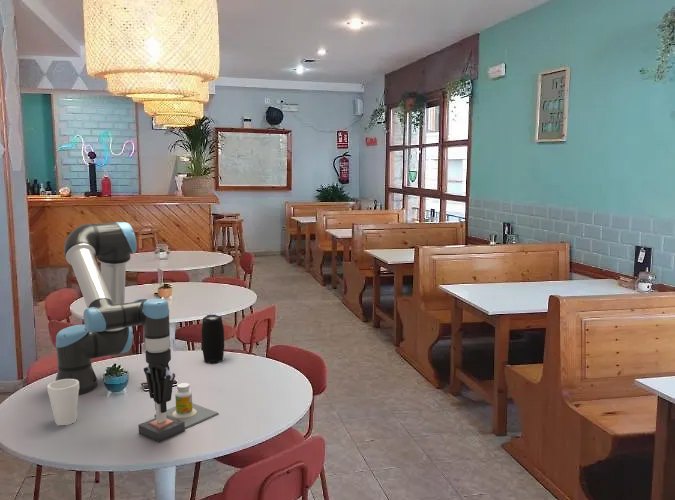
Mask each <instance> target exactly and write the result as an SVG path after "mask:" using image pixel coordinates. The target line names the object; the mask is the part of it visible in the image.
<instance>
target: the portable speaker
mask: <svg viewBox="0 0 675 500" xmlns="http://www.w3.org/2000/svg"><path fill="white" fill-rule="evenodd" d="M222 319H223V318H222V315H217V314H207V315H205V316H204V317H202V325H201V348H202V354H203V360H204V362H207V363H208V364H210V365H212V364H213V365H214V364H218V363H219V362H220V361H222V362H223V360H224V354H225V328H224V323H223V320H222Z"/></svg>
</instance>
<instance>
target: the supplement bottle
mask: <svg viewBox="0 0 675 500" xmlns="http://www.w3.org/2000/svg"><path fill="white" fill-rule="evenodd" d="M176 387H177V388H176V389H177V390H176V391H175V394H174V395H175V396H174V397H175V406H176V413H177V414H178V415H188V414H190V413H192V403H193V393H192V390H191V389H190V383H188V382H182V383H178V384H177V385H176Z"/></svg>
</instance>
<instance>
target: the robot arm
mask: <svg viewBox="0 0 675 500" xmlns="http://www.w3.org/2000/svg"><path fill="white" fill-rule="evenodd" d="M137 249H138V245H137V238H136V234H135V231H134V229H133V226H132V225H131V224H130V223H129V222H127V221H126V222H123V221H121V222H120V221H115V222H101V223H100V222H99V223H85V224H82V225H80V226H79V225H78V226H77V227H76V228H75V229H73V230H72V231H71V232H70V233H69V235H68V236H67V238H66V239H65V243H64V246H63V255H64V257H65V260H66V263H68V264H69V265H70V266H71V268H72V270H73V272H74V275H75V278H76V280H77V284H78V285H79V289H80V291H81V294H82V298H83V300H84V302H85V304H86V307H87V308H85V310H84V311H83V316H82V317H83V323H84V324H76V325H71V326H68V327H65V328H63V329H60V330H59V331H58V332H57V333H56V335H55V348H56V358H57V359H56V360H57V374H56V377H55V380H54V381H57V380H62V379H76V380H78V381H79V393H78V395H83V394H87V393H89V392H91V391H93V390H96V389H97V388H98V385H99V382H98V377H97V375H96V373H95V370H94V369H93V366H92V364H93V363H92V359H100V358H103V357H109V356H115V355H120V354H124V353H127V352H128V351H130V349H131V347H132V345H133V340H134V335H133V330H134V329H133V327H137V326H141V325H142V326H143V330H144V333H143V334H144V348H145V362H146V363H147V365H148V366H146V367H143V372H144V374H145V377H146V384H147V388H148V393H149V397H150V399H152V400H153V401H154V407H155V409H154V410H155V414H156V417H155V418H156V421H157V423H162V422H164V421H166V420H167V418H166V411H167V410H168V408H167V402H170V401H172V393H173V388H174V386H173V385H174V379H175V377H176V373H174V372H173V373H172V372H171V371H170V370H171V369H170V366H169V365H170V364H169V363H170V361H171V360H172V350H171V348H170V347H171V336H170V334H171V333H170V332H171V330H170V327H171V326H170V308H169V302H168V300H167V299H165V298H150V299H147V298H137V299H135V300H134V301H131V302H125V299H126V298H125V295H126V273H127V272H126V270H127V269H126V265H127V263H129V261H131V256H132V255H134V254H135V253H136V252H137ZM95 257H96V258H95ZM97 261H98V262H99V263H100V267H99V265H98V262H97Z"/></svg>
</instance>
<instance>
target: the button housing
mask: <svg viewBox="0 0 675 500" xmlns="http://www.w3.org/2000/svg"><path fill="white" fill-rule="evenodd" d="M166 418H167V419H169V420H172V421H174V423H173V424H171V425H169V426H166V427H164V428H162V429H158V428H155V427H153V426H151V425H150V422H152V421H155V420H156V417H155V418H152V419H150V420H147V421H144V422H142V423H139V424H137V425H138V434H139V435H141V436H143V437H145V438H148V440H149V439H150V440H152V441H154V442H156V443H158V444H159V443H161V442H164V441H165V440H168V439H170V438H172V437H175V436H177V435H178V434H182V433H183V432H185V431H186V429H185V422H183V421H181V420H178V419H176V418H173V417H171V416H168V415H166Z"/></svg>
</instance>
